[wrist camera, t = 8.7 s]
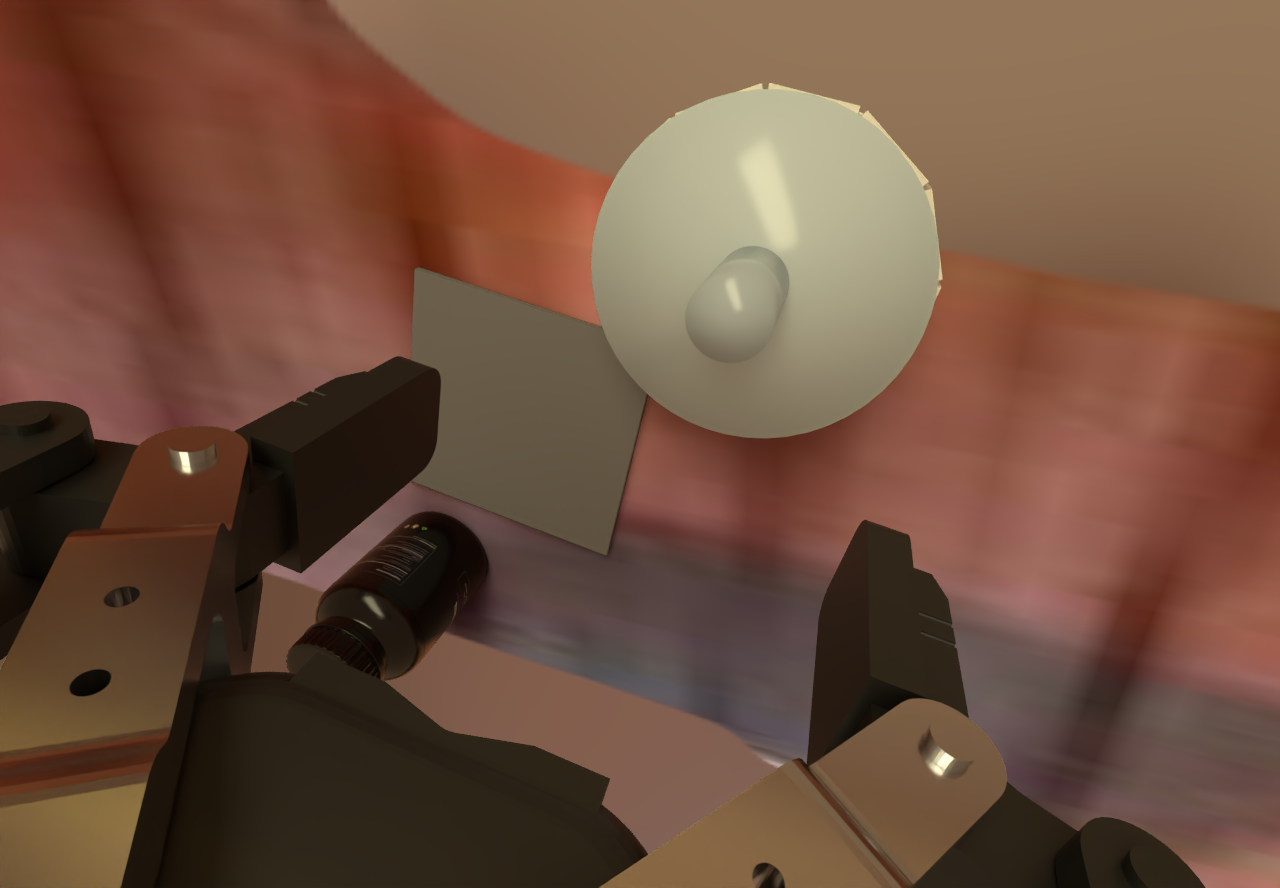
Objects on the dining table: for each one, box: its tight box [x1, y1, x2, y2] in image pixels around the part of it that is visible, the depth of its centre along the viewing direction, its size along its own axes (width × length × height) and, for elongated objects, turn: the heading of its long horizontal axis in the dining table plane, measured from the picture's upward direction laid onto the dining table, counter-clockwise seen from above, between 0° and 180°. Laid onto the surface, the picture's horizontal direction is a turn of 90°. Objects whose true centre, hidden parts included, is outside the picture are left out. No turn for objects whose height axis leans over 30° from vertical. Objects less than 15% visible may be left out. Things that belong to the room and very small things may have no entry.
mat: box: [411, 267, 648, 556], centre depth 38 cm, size 14×14×1 cm
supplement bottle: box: [286, 512, 487, 681], centre depth 40 cm, size 7×7×12 cm
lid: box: [591, 89, 940, 438], centre depth 23 cm, size 13×13×6 cm
